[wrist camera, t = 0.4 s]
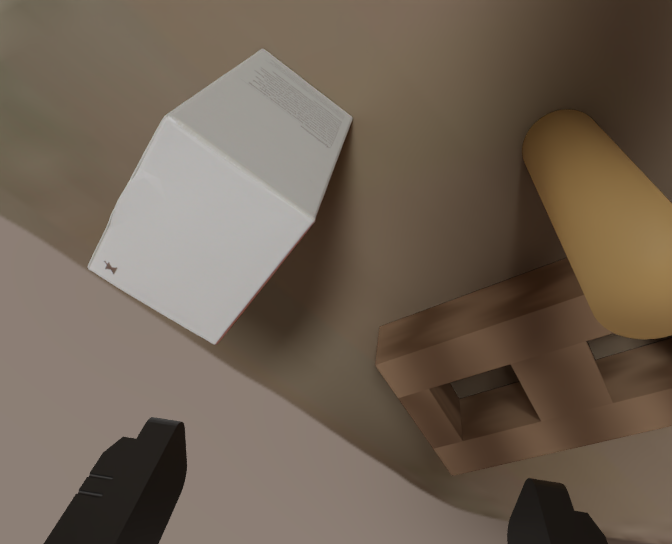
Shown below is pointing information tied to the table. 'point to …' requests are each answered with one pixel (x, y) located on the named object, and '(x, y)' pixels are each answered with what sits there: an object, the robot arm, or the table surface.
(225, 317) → the small box
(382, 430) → the table surface
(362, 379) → the table surface
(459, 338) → the hole block
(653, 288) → the peg
